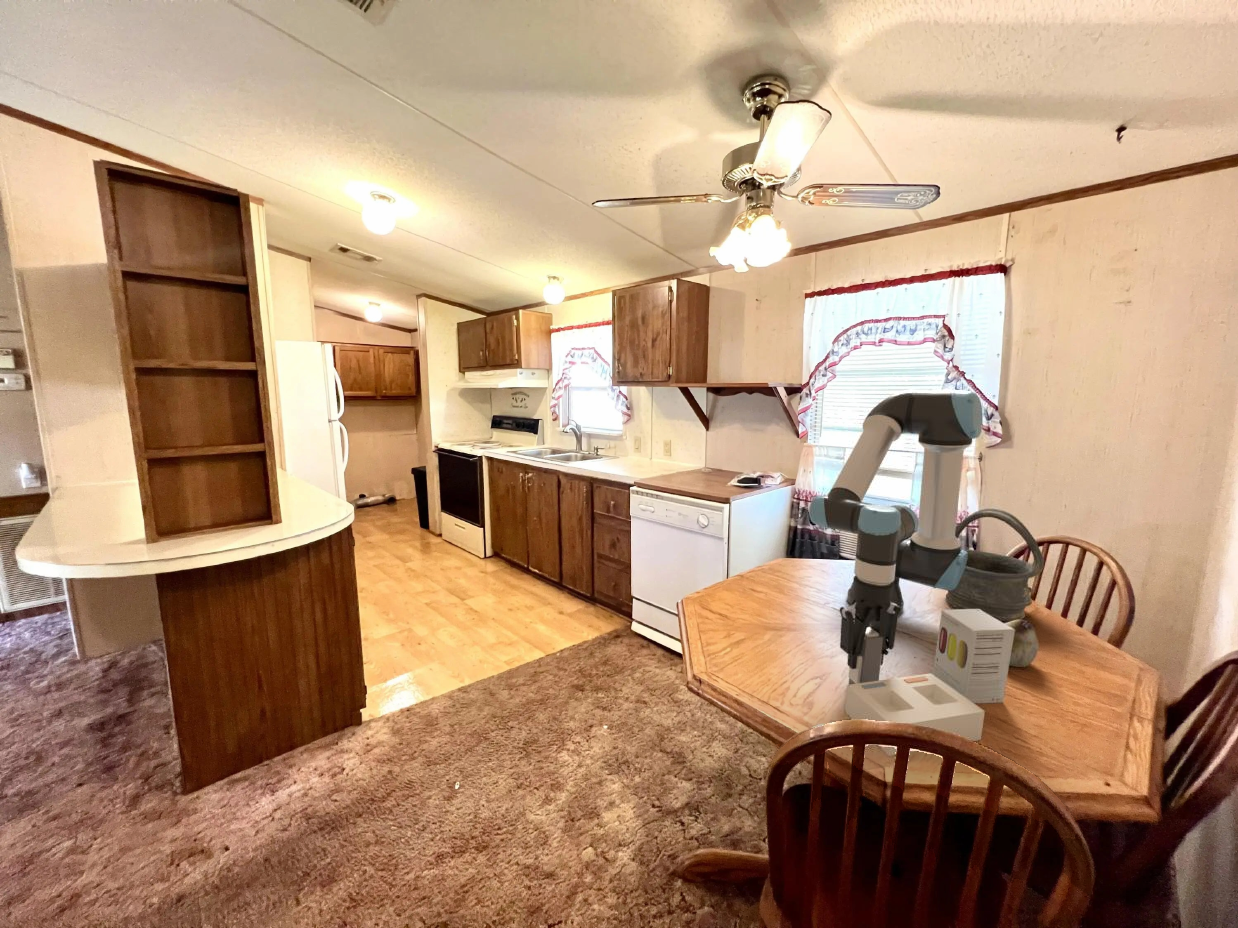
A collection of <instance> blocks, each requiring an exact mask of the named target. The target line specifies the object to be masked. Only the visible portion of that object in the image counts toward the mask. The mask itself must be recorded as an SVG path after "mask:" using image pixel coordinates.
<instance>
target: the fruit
mask: <svg viewBox="0 0 1238 928" xmlns="http://www.w3.org/2000/svg"><path fill="white" fill-rule="evenodd" d="M1003 623H1004V622H1003ZM1004 624H1006V625H1008V626H1009V627H1011V628H1013V629H1015V633H1014V639H1013V645H1012V650H1011V657H1010V663H1009V667H1010V666H1011V667H1015V668H1023V667H1027V666H1029V665H1031V664H1032V663H1033V661H1034V660H1035V659H1036V657H1037V656H1038V654H1037V653H1038V652H1039V650H1040V649H1039V648H1040V646H1039V645H1040V644H1039V641H1038V637H1037V634H1036V631H1035V628H1034V625H1032V623H1030V621H1029V620H1024V619H1021V620H1014V621H1006V622H1005V623H1004Z"/></svg>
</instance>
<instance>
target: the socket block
mask: <svg viewBox="0 0 1238 928" xmlns="http://www.w3.org/2000/svg"><path fill="white" fill-rule="evenodd" d="M844 705H845V706H844V713H845V714H846V715H847V716H848V715H849V716H848V717H849V718H850V719H868V720H875V721H889V722H897V723H909V724H914V725H919V726H924V727H930V728H935V729H939V730H942V731H947V732H950V733H955V734H956V735H960V736H961V737H964V738H967V739H969V740H973V741H972V742H976V741H981V739H982V733H983V725H984V721H985V720H984V719H985V713H986V711H985V710H984V709H983V708H982V707H980V706H978V705H977V704H976V703H975V704H974V703H972V702H971V701H970V700H968V699H967V698H965V697H964V696H962V695H961V694H960V693H958V692H957V691H955V690H954V689H953V688H951V687H950V686H948V685H947V684H945V683H944V682H943V681H941V680H940V679H938V678H937V677H935V676H934V675H933V673H924V674H916V675H910V676H903V677H902V676H901V677H894V678H888V679H879V681H872V682H865V683H858V684H851V685H849V684H847V685H846V694H845V704H844ZM878 747H879V748H880V749H881V750H882V751H883V752H884V753H885V754H886V755H887V756H888V757H892V756H896V755H895V752H896V749H895V748H894V747H882V746H878ZM915 752H916V751H910V752H909V753H915Z"/></svg>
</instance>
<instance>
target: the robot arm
mask: <svg viewBox="0 0 1238 928" xmlns="http://www.w3.org/2000/svg"><path fill="white" fill-rule="evenodd" d="M982 407H983V406H982V402H981V399H980V397H979V395H978V394H977V393H976V392H975V391H970V390H957V389H932V390H930V389H929V390H928V389H925V390H924V389H922V390H921V389H909V390H908V389H907V390H903V391H900V392H899V391H898V392H897V393H894V394H892V395H890V396H887V397H886V398H885V399H884V400H881V402H879V403H878V404H877V405H876V406H874V407H873V408H872V409H871V410H870V412H869V413H868V414H867V415H866V417H865V418H864V420H863V423H862V430H863V431H862V433H861V434H860V437H859V438H858V439H857V442H856V443H855V445H854V447H853V449H852V451H851V453H850V454H849V456H848V458H847V460H846V461H845V463H844V466H842V469H841V471H840V472H839V475H838V476H837V478H836V480H835V481H834V484H833V486H832V487H831V489H830V491H829V492H828V494H827V495H826V494H817V495H816V496H814V497H813V498H812V500H811V501H810V505H809V510H808V514H809V518H810V521H811V522H812V523H813V524H815V525H816V526H820V527H823V528H827V529H833V530H838V531H843V532H847V533H852V534H855V535H857V537H856V538H857V539H856V551H855V559H854V561H855V562H854V570H853V573H854V576H853V581H852V583H851V585H850V588H848V591H847V595H846V596H847V597H846V600H847V603H849V604H850V606H847V607H844V606H841V607H840V608H839V613H840V617H841V625H840V626H841V627H840V639H839V641H840V642H839V648H840V649H841V650H842V651H844V652H845V653H846V654H847V662H846V663H847V667H849V669H848V679H849V678H850V679H851V680H852V681H853V682H854V683H855V684H858V683H860V677H861V667H862V656H861V655H860V651H861V647H862V644H863V640H864V637H865V633H866V630H867V627H870V625H871V628H872V629H873V630H875V631H876V632H877V633H879V635H881V636H882V637H883V643H882V652H881V662H880V667H881V666H883V665H884V664H883V663H884V658H885V657H884V656H888V654H889V653H890V652H889V650H893V648H894V647H895V646H894V645H895V638H896V634H897V633H896V631H897V624H898V619H899V615H900V614H901V613H903V612H904V607H905V606H904V605H905V602H904V599H903V595H902V594H903V593H902V591H901V587H900V579H901V580H905V581H909V582H913V583H917V584H920V585H923V586H926V587H927V586H928V587H930V588H932V589H940V590H944V591H947V592H948V591H951V590H953V589H955V588H956V587H957V585H958V583H959V581H960V579H961V577H962V574H963V572H964V569H965V566H966V562H967V558H968V553H967V552H966V551H964V550H965V549H962V542H961V540H959V538H958V539H957V538H956V537H955V530H956V526H957V518H958V511H959V501H960V500H959V498H960V489H961V481H962V469H963V463H964V462H963V460H964V453H965V452H964V451H965V450H966V449H968V448H969V447H970V446H971V445H972V444H973V439H978V438H980V436H981V434H982V429H983V427H982V426H983V422H984V421H983V408H982ZM902 434H913V435H918V440H917V442H918V443H919V445H920V446H922V447H923V449H924V450H923V460H922V461H923V462H922V471H921V472H922V474H921V485H920V498H919V509H918V516H917V513H916V512H915V511H914V510H913V509H912V508H910V507H909V506H906V505H902V504H901V505H900V504H897V505H895V504H894V505H885V504H875V503H870V502H863V501H864V498H865V496H866V494H867V493H868V491H869V488H870V486H871V484H872V482H873V481H874V479H875V476H876V475H877V473H878V471H879V469H880V467H881V465H882V464H883V461H884V459H885V457H886V455H887V454H888V451H889V450H890V447H891V445H892V444H893V442H896V441H898V440H899V438H901V436H902ZM880 674H881V670H880V671H879V677H880Z"/></svg>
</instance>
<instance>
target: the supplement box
mask: <svg viewBox="0 0 1238 928" xmlns="http://www.w3.org/2000/svg"><path fill="white" fill-rule="evenodd" d="M940 613H941V614H940V621H939V628H938V633H937V634H938V635H937V643H936V649H935V654H934V655H935V657H934V664H933V669H932V670H933V671H932V674H933V675H934V676H935V677H937V678H938V679H940V680H941V681H943V682H944V683H945V684H947V685H948V686H950V687H951V688H953V689H954V690H955V691H957V692H958V693H960V694H961V695H962V696H964V697H965V698H967V699H968V700H970V701H971V702H972V703H974V704H975V705H976V704H991V703H994V704H996V703H1004V699H1005V692H1006V685H1007V680H1008V674H1009V668H1010V665H1009V663H1010V657H1011V650H1012V645H1013V639H1014V633H1015V629H1013V628H1011V627H1009V626H1008V625H1006V624H1004V622H1003V621H999V620H997V619H995V618H993V617H992V616H990V615H988V614H987V613H985V612H983V611H982V610H980V609H957V608H955V609H942V610H941V612H940Z"/></svg>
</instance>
